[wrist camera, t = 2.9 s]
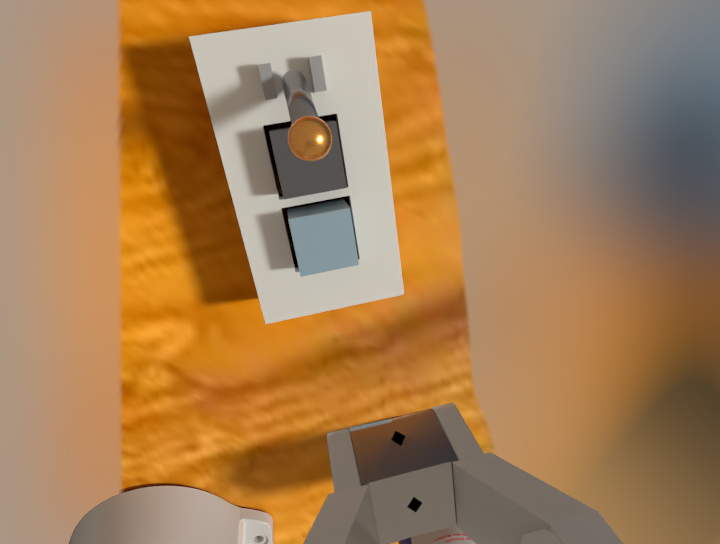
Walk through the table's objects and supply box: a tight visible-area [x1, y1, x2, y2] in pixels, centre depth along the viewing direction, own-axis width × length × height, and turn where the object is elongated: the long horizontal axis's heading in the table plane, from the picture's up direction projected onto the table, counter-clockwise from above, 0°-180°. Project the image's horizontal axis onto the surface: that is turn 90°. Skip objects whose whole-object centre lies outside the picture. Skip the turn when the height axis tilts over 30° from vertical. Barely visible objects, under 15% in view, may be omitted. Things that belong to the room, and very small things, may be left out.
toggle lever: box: [282, 70, 332, 162], centre depth 19 cm, size 2×2×7 cm
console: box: [189, 11, 404, 324], centre depth 26 cm, size 16×9×5 cm, turn 8°
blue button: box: [287, 199, 359, 277], centre depth 25 cm, size 3×3×2 cm
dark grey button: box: [269, 120, 347, 199], centre depth 23 cm, size 3×3×2 cm
